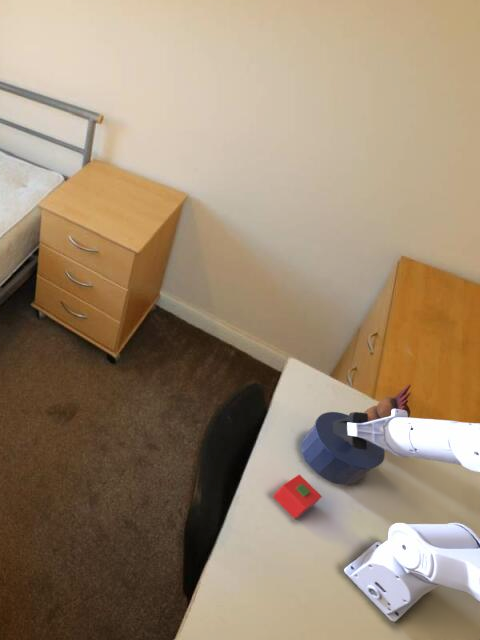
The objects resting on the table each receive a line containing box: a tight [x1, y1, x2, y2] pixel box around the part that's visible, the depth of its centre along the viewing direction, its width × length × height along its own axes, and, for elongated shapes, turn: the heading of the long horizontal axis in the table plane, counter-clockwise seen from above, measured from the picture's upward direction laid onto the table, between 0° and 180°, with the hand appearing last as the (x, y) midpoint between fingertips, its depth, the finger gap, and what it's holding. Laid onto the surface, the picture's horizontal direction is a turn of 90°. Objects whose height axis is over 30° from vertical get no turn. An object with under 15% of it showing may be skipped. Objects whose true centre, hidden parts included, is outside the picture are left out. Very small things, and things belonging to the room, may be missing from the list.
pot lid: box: [314, 411, 386, 470], centre depth 92 cm, size 11×11×4 cm
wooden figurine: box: [363, 384, 411, 422], centre depth 96 cm, size 7×6×15 cm
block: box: [272, 473, 323, 519], centre depth 89 cm, size 4×4×5 cm
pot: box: [300, 424, 372, 486], centre depth 95 cm, size 10×10×6 cm
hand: (356, 430), depth 89 cm, fingers open, 7 cm apart
